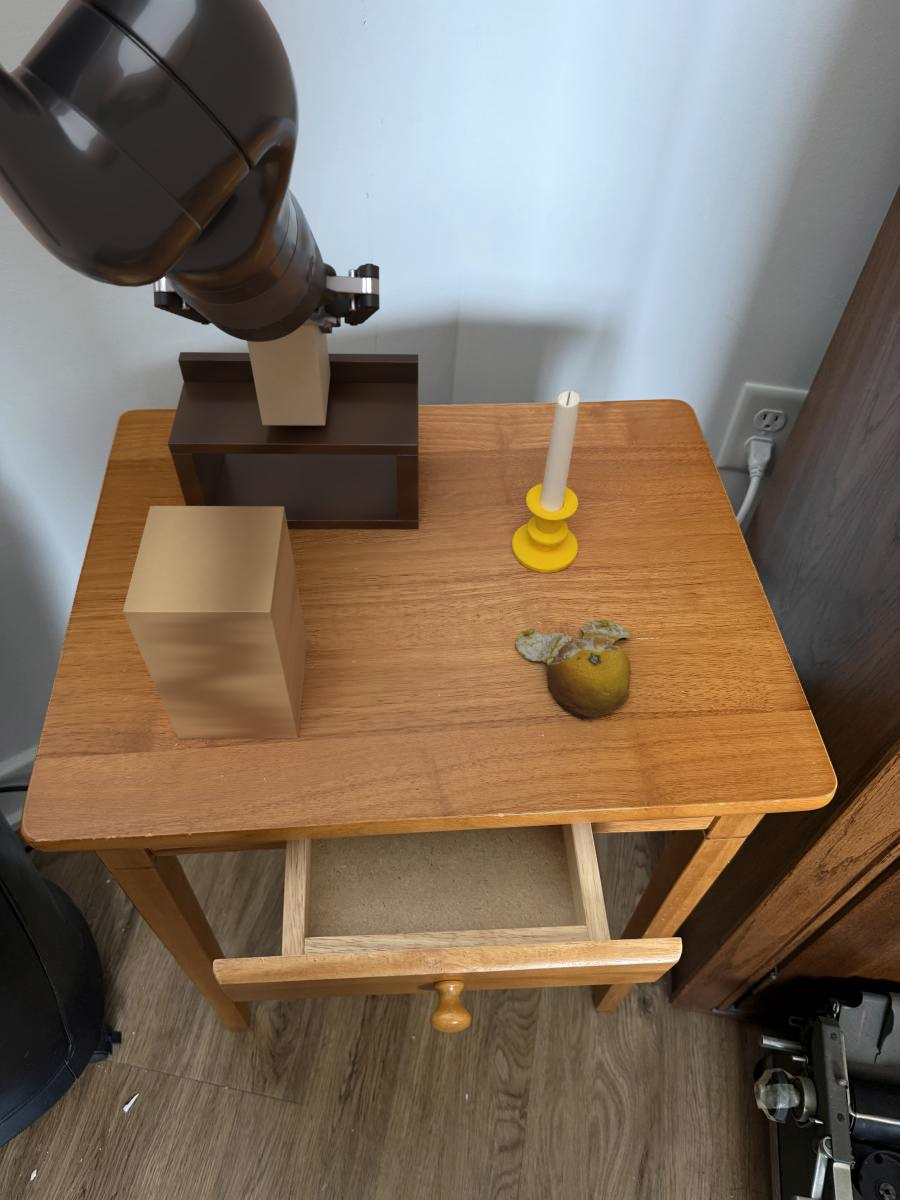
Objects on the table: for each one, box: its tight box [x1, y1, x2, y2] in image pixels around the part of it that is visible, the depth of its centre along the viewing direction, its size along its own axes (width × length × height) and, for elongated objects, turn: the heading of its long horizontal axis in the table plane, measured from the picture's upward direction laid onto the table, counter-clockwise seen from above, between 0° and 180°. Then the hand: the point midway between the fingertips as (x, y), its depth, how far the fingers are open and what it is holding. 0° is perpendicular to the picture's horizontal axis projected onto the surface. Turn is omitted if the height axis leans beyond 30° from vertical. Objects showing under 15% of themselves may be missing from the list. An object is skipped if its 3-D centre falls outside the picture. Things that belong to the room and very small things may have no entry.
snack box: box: [246, 326, 330, 425], centre depth 62 cm, size 4×6×10 cm
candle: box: [511, 390, 581, 574], centre depth 64 cm, size 5×5×16 cm
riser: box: [122, 505, 308, 740], centre depth 56 cm, size 8×8×14 cm
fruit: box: [514, 619, 632, 720], centre depth 62 cm, size 8×8×4 cm
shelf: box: [167, 351, 420, 530], centre depth 69 cm, size 18×8×11 cm, turn 91°
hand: (290, 318), depth 63 cm, fingers closed on snack box, 4 cm apart
